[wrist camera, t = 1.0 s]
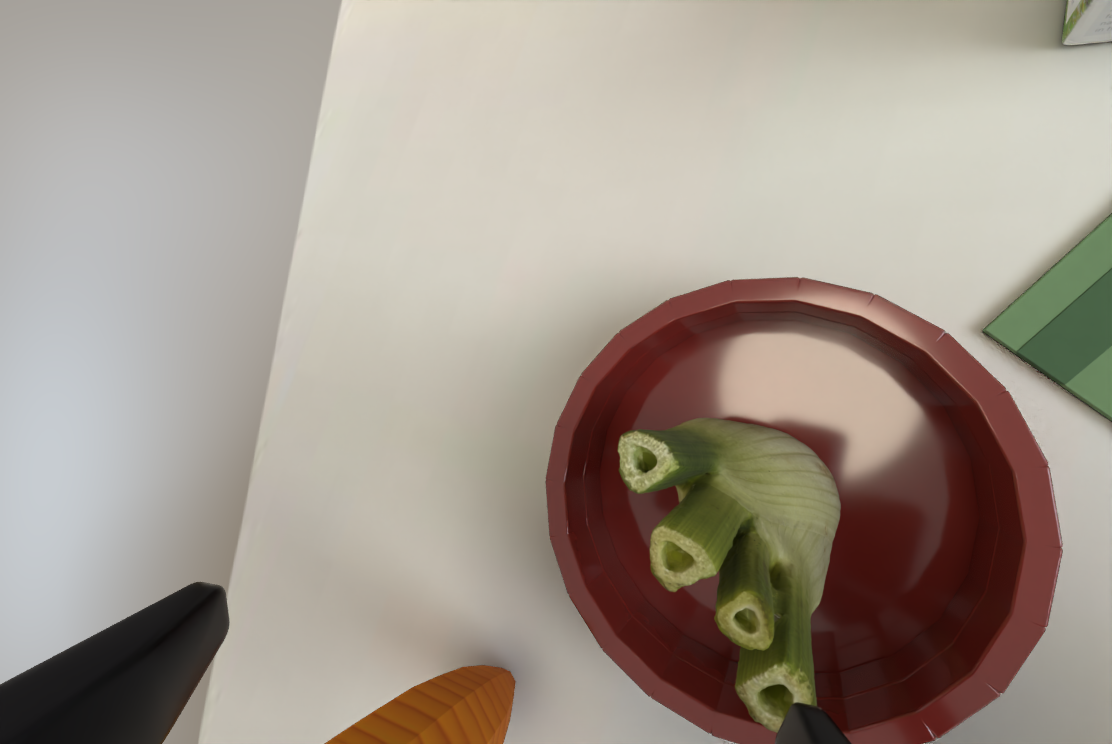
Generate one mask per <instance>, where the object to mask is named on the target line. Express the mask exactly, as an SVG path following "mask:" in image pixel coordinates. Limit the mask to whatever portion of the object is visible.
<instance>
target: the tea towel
mask: <svg viewBox="0 0 1112 744" xmlns="http://www.w3.org/2000/svg"><path fill="white" fill-rule="evenodd" d="M983 332H984V333H986V334H987V335H989V336H990V337H991V338H993V339H994V340H996V341H997V342H999V343H1000V344H1002V345H1003V346H1004V347H1006V348H1007V349H1009V350H1010V351H1012V352H1013V353H1014V354H1016V355H1017V356H1019V357H1020V358H1022V359H1023V360H1024V361H1026V362H1027V363H1029V364H1030V365H1032V366H1033V367H1034V368H1036V369H1037V370H1039V371H1040V372H1042V373H1043V374H1045V375H1046V376H1047V377H1049V378H1050V379H1052V380H1053V381H1055V382H1056V383H1057V384H1059V385H1060V386H1062V387H1063V388H1065V389H1066V390H1067V391H1069V392H1070V393H1072V394H1073V395H1075V396H1076V397H1078V398H1079V399H1080V400H1082V401H1083V402H1085V403H1086V404H1088V405H1089V406H1090V407H1092V408H1093V409H1095V410H1096V411H1098V412H1099V413H1100V414H1102V415H1103V416H1105V417H1106V418H1108V419H1109V420H1110V421H1112V214H1111V215H1110V216H1109V217H1108V218H1106V219H1105V220H1104V221H1103V222H1102V223H1101V224H1100V225H1099V226H1098V227H1096V228H1095V229H1094V230H1093V231H1092V232H1091V233H1090V234H1089V235H1088V236H1086V237H1085V238H1084V239H1083V240H1082V241H1081V242H1080V243H1079V244H1078V245H1077V246H1075V247H1074V248H1073V249H1072V250H1071V251H1070V252H1069V253H1068V254H1067V255H1065V256H1064V257H1063V258H1062V259H1061V260H1060V261H1059V262H1058V263H1057V264H1055V265H1054V266H1053V267H1052V268H1051V269H1050V270H1049V271H1048V272H1047V273H1045V274H1044V275H1043V276H1042V277H1041V278H1040V279H1039V280H1038V281H1037V282H1036V283H1034V284H1033V285H1032V286H1031V287H1030V288H1029V289H1028V290H1027V291H1026V292H1024V293H1023V294H1022V295H1021V296H1020V297H1019V298H1018V299H1017V300H1016V301H1014V302H1013V303H1012V304H1011V305H1010V306H1009V307H1008V308H1007V309H1006V310H1005V311H1003V312H1002V313H1001V314H1000V315H999V316H998V317H997V318H996V319H995V320H993V321H992V322H991V323H990V324H989V325H988V326H987V327H986V328H985V329H983Z"/></svg>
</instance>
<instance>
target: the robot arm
mask: <svg viewBox="0 0 1112 744" xmlns="http://www.w3.org/2000/svg"><path fill="white" fill-rule="evenodd" d="M228 629H229V614H228V607H227V599H226V592H225V590H224V588H223V587H221V586H219V585H215V584H210V583H205V582H196V583H193V584H190V585H188V586H187V587H184V588H182V589H181V590H179V591H177V592H175V593H173V594H171V595H169V596H167V597H166V598H164V599H162V600H160V601H158V602H156V603H154V604H152V605H150V606H148V607H146V608H145V609H143V610H141V611H139V612H137V613H135V614H133V615H131V616H129V617H127V618H126V619H124V620H122V621H120V622H118V623H116V624H114V625H112V626H110V627H109V628H107V629H105V630H103V631H101V632H99V633H97V634H95V635H93V636H91V637H90V638H88V639H86V640H84V641H82V642H80V643H78V644H76V645H74V646H72V647H71V648H69V649H67V650H65V651H63V652H61V653H59V654H57V655H55V656H53V657H52V658H50V659H48V660H46V661H44V662H43V663H40V664H38V665H36V666H34V667H33V668H31V669H29V670H27V671H25V672H23V673H21V674H19V675H17V676H16V677H14V678H12V679H10V680H8V681H6V682H4V683H2V684H0V744H162V743H163V742H164V740H165V738H166V737H167V735H168V734H169V732H170V730H171V729H172V727H173V726H174V724H175V722H176V721H177V719H178V717H179V715H180V714H181V712H182V710H183V709H184V707H185V705H186V704H187V702H188V700H189V699H190V697H191V695H192V693H193V692H194V690H195V688H196V687H197V685H198V683H199V682H200V680H201V678H202V677H203V675H204V673H205V671H206V670H207V668H208V666H209V665H210V663H211V661H212V660H213V658H214V656H215V654H216V653H217V651H218V649H219V648H220V646H221V644H222V643H223V641H224V639H225V637H226V635H227V632H228ZM775 744H852V743H851V742H850V741H849V740H848V738H847V737H846V736H845V735H844V733H843V732H842V731H841V730H840V728H839V727H838V726H837V725H836V723H835V722H834V721H833V720H832V718H831V717H830V716H829V715H828V714H827V712H826V711H824V710H823V709H822V708H820V707H818V706H815V705H810V704H805V703H800V702H795V703H793V704H792V705H791V706H790V708H789V710H788V712H787V714H786V716H785V718H784V720H783V722H782V724H781V726H780V728H779V730H778V732H777V735H776V739H775Z"/></svg>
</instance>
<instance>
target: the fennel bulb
mask: <svg viewBox="0 0 1112 744" xmlns="http://www.w3.org/2000/svg"><path fill="white" fill-rule="evenodd" d="M618 453H619V456H620V468H619V473H620V475H621V477H622V480H623V481H624V483H625V484H626V486H627V487H628V489H629V490H630V491H633V492H635V493H637V494H642V493H649V492H653V491H658V490H662V489H667V488H668V487H672V486H676V488H677V492H678V497H679V503H680V504H679V505H678V506H676V507H674V509H673V510H671V512H670V513H669V514H668V515H667V516H665V517H664V518H663V519H662V520H661V521H660V522H659V524H658V525H657V526H656V527H655V528H654V529H653V531H652V533H651V540H650V561H651V566H650V567H651V572H652V574H653V575H654V576H655V578H656V579H657V580H658V581H659V582H660V584H661V585H662V586H663V587H664V588H665V589H666V590H668V591H671V592H676V591H677V589H679V588H681V587H683V586H688V585H692V584H694V583H695V582H697V581H698V580H699V579H707V578H710V577H712V576H715V575H716V574H717V572H718V571H719V585H718V588H717V601H716V605H715V607H716V615H715V617H714V619H715V622H716V623H717V625H718V628H719V630H720V631H721V632H722V633H723V634H724V635H726V636H727V637H728V638H729V639H730V640H731V641H732V642H734V643H735V644H737V645H739V646H741V649H740V659H739V662H738V669H737V678H736V684H735V689H736V692H737V694H738V696H739V697H740V699H741V700H742V701H743V702H744V704H745V705H746V706H747V709H748V711H749V715H750V716H751V717H752V718H753V720H754V721H755V722H759V723H761V724H762V725H763V726H765V727H766V728H767V729H768V730H770V731H774V732H776V733H777V732H778V730H779V728H780V726H781V724H782V722H783V720H784V718H785V716H786V714H787V712H788V710H789V708H790V706H791V705H792V704H793V703H795V702H800V703H805V704H810V705H815V706H817V699H816V691H815V680H814V663H813V655H812V646H811V623H810V622H811V614H812V613H813V611H814V610H815V609H816V608H817V606H818V605H819V603H820V601H821V597H822V594H823V589H824V583H825V578H826V574H827V570H828V566H829V562H830V553H831V548H832V542H833V539H834V537H835V533H836V530H837V527H838V523H839V520H840V509H841V503H840V499H839V494H838V490H837V487H836V483H835V481H834V478H833V476H832V474H831V472H830V471H829V469H828V468H827V466H826V465H825V464H824V462H823V461H822V460H821V459H820V458H819V457H818V456H817V455H816V453H815V452H814V451H813V450H812V449H810V448H809V447H808V446H807V445H805V444H804V443H802V442H800V441H798V440H797V439H796V438H794V437H792V436H791V435H789V434H787V433H784V432H782V431H779V430H776V429H772V428H767V427H764V426H759V425H754V424H747V423H741V422H736V421H730V420H723V419H717V418H697V419H693V420H690V421H686V422H683V423H681V425H678V426H675V427H673V428H670V429H667V430H665V431H664V430H661V431H657V430H644V429H638V430H631V431H628V432H626V433H623V434H622V435H621V436H620V438H619V443H618Z"/></svg>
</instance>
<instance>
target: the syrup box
mask: <svg viewBox="0 0 1112 744" xmlns="http://www.w3.org/2000/svg"><path fill="white" fill-rule="evenodd" d="M1109 41H1112V0H1067V4H1066V12H1065V19H1064V26H1063V36H1062V43H1063V44H1064V45H1078V44H1088V43H1100V42H1109Z"/></svg>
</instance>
